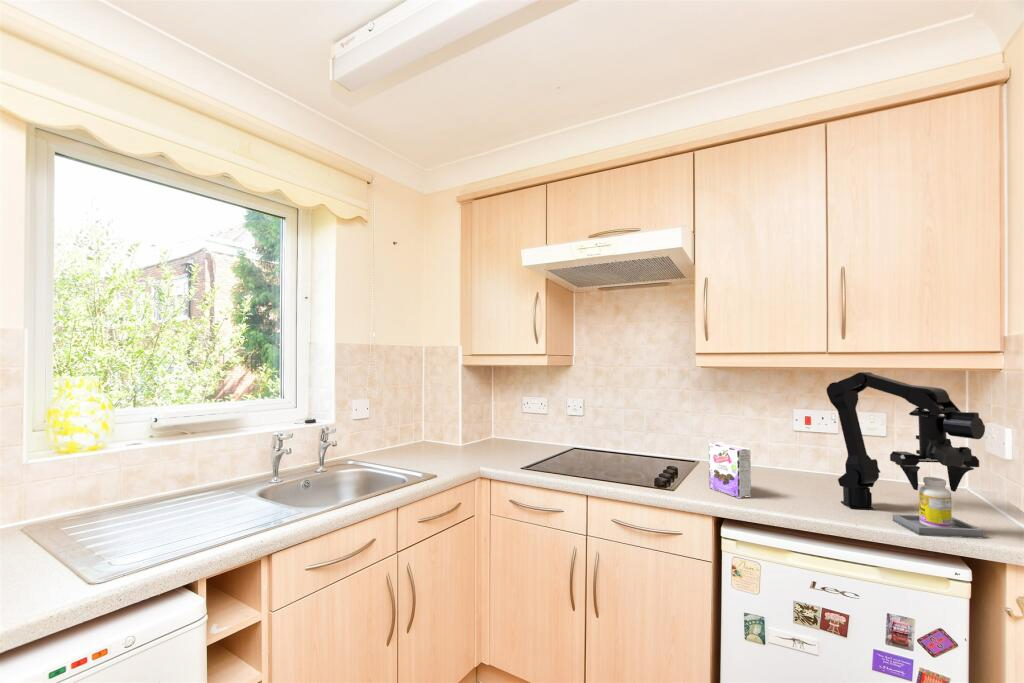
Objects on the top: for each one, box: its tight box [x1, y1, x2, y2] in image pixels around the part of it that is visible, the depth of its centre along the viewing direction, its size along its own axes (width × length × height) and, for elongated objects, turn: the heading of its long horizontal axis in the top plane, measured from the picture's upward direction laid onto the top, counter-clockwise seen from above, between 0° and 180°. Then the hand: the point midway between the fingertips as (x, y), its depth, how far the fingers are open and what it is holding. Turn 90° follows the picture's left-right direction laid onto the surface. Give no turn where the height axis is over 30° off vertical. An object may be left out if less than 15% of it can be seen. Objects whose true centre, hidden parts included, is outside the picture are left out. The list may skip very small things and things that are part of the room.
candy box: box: [708, 441, 752, 498], centre depth 167 cm, size 14×6×16 cm, turn 20°
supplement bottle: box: [918, 476, 952, 528], centre depth 131 cm, size 7×7×13 cm
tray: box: [892, 513, 984, 539], centre depth 131 cm, size 15×11×2 cm
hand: (934, 490), depth 131 cm, fingers open, 9 cm apart
